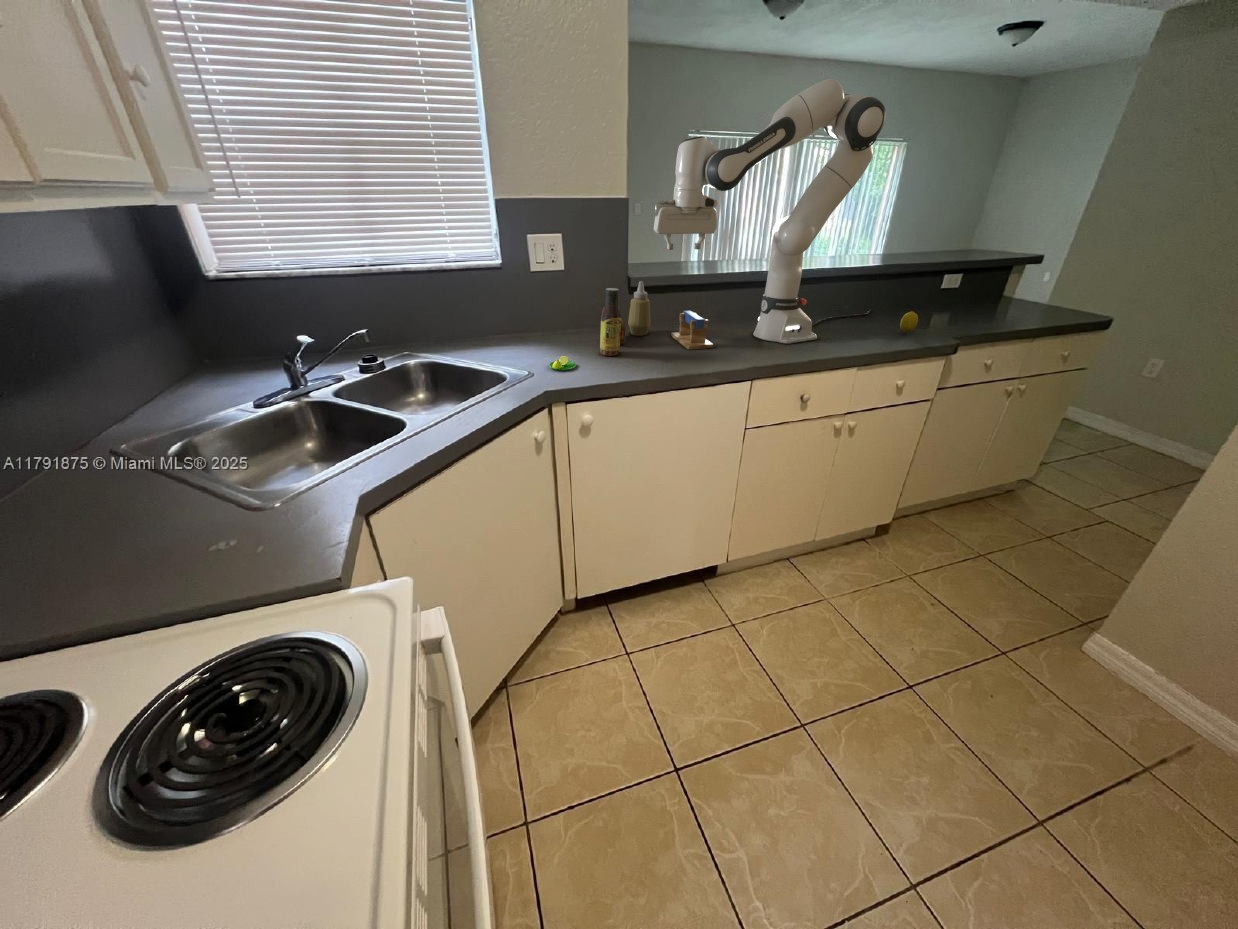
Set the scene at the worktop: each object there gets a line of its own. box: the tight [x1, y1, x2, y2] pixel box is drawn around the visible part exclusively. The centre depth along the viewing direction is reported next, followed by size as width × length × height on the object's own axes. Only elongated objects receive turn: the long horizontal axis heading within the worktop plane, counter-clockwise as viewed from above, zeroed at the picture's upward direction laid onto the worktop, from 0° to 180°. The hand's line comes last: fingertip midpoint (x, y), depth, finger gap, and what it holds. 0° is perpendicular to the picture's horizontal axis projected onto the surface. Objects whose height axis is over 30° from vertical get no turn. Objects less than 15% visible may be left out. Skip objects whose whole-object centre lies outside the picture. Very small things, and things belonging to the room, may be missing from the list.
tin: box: [620, 318, 627, 345], centre depth 165 cm, size 15×3×8 cm, turn 20°
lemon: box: [899, 311, 919, 334], centre depth 181 cm, size 6×6×8 cm
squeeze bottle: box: [627, 280, 652, 337], centre depth 171 cm, size 8×8×18 cm
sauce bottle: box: [599, 287, 622, 357], centre depth 150 cm, size 7×6×20 cm
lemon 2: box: [548, 355, 577, 371], centre depth 143 cm, size 8×8×3 cm
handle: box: [682, 310, 705, 329], centre depth 164 cm, size 12×3×3 cm, turn 15°
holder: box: [670, 312, 715, 350], centre depth 166 cm, size 16×9×9 cm, turn 16°
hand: (683, 249), depth 156 cm, fingers open, 8 cm apart
